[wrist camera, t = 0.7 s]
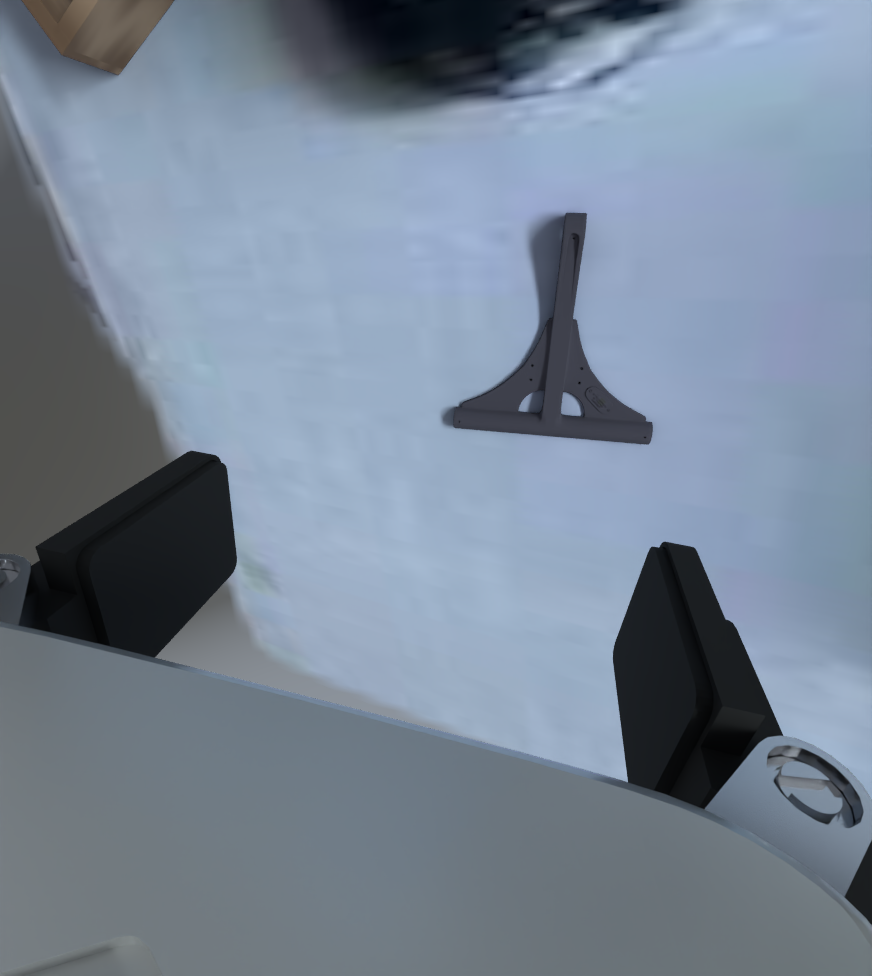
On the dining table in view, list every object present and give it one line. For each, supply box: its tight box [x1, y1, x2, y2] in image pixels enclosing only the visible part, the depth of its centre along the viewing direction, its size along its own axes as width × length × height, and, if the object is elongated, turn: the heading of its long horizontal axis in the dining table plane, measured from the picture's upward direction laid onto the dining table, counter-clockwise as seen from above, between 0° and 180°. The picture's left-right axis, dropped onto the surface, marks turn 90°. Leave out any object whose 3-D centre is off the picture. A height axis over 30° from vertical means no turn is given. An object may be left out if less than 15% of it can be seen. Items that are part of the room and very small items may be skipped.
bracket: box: [454, 213, 653, 444], centre depth 35 cm, size 14×15×3 cm
